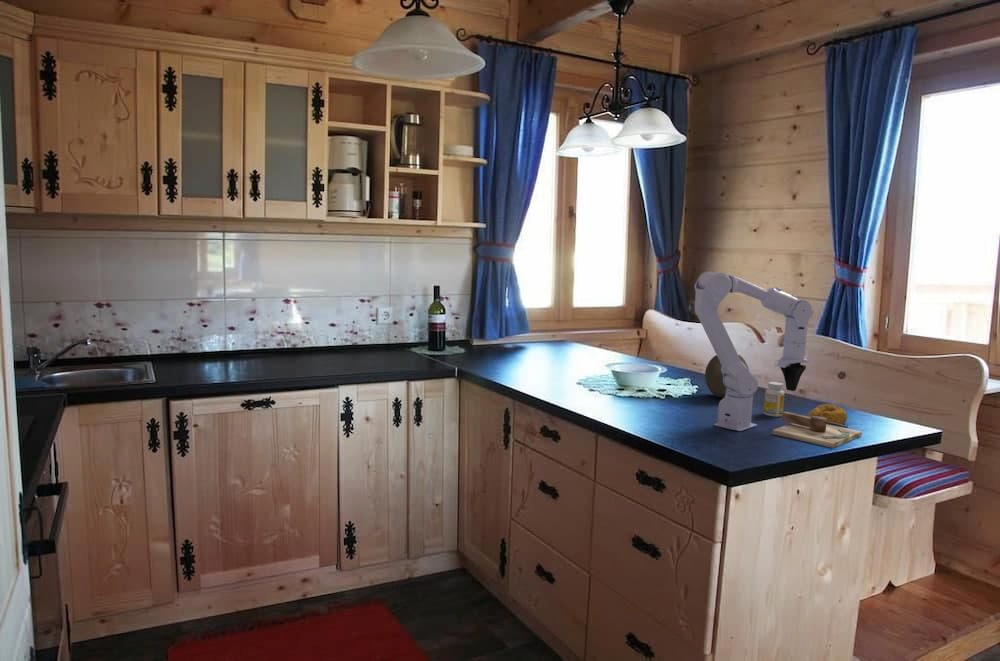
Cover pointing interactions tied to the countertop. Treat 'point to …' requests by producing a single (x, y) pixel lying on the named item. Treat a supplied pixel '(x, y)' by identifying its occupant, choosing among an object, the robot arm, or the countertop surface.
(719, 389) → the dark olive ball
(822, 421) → the brown elongated piece
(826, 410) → the bagel
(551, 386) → the countertop surface
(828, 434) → the board
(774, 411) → the supplement bottle
